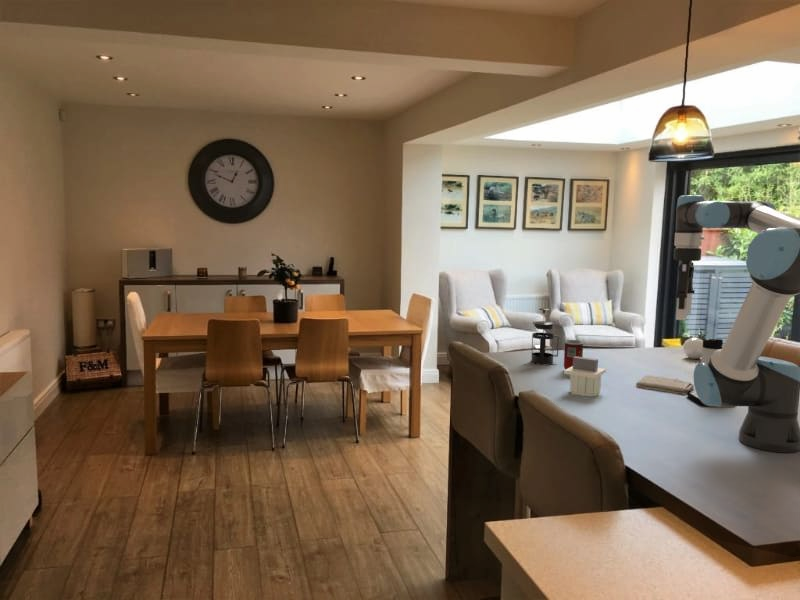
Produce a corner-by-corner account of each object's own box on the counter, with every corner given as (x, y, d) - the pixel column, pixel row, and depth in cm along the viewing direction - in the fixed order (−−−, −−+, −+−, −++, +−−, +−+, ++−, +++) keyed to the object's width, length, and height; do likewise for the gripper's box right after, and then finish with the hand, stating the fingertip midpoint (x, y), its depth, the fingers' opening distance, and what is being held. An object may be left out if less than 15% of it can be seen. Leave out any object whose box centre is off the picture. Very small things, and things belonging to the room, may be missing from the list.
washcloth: (687, 396, 223) (688, 387, 222) (634, 388, 233) (635, 379, 232) (694, 389, 232) (695, 380, 232) (643, 381, 243) (643, 373, 242)
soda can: (581, 374, 252) (583, 343, 250) (563, 372, 254) (564, 342, 252) (582, 370, 258) (583, 340, 257) (564, 368, 260) (565, 339, 259)
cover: (595, 378, 216) (596, 363, 216) (563, 373, 223) (564, 359, 222) (605, 372, 225) (606, 357, 225) (575, 367, 232) (575, 353, 231)
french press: (528, 363, 269) (530, 309, 266) (530, 359, 278) (532, 306, 275) (557, 365, 266) (559, 310, 263) (558, 360, 275) (560, 307, 272)
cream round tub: (596, 398, 218) (597, 378, 217) (566, 394, 222) (567, 374, 222) (602, 391, 226) (603, 372, 225) (574, 387, 231) (575, 368, 230)
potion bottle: (679, 359, 286) (716, 367, 280) (681, 350, 278) (720, 358, 272) (683, 341, 290) (720, 348, 284) (685, 331, 281) (723, 338, 275)
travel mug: (708, 397, 219) (712, 340, 217) (695, 392, 225) (698, 336, 223) (723, 396, 221) (728, 339, 218) (709, 391, 227) (713, 336, 225)
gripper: (697, 249, 181) (692, 323, 183) (704, 246, 202) (700, 312, 205) (669, 248, 184) (664, 321, 187) (679, 245, 206) (675, 311, 209)
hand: (683, 317), depth 196 cm, fingers open, 13 cm apart
